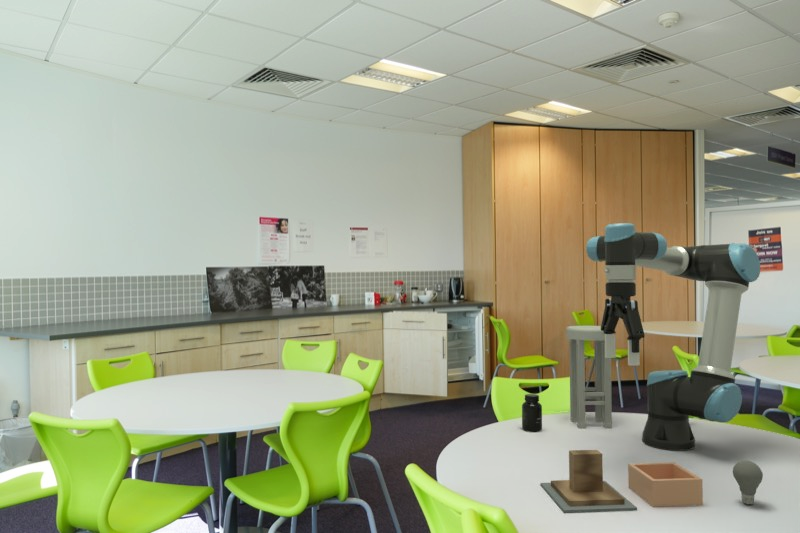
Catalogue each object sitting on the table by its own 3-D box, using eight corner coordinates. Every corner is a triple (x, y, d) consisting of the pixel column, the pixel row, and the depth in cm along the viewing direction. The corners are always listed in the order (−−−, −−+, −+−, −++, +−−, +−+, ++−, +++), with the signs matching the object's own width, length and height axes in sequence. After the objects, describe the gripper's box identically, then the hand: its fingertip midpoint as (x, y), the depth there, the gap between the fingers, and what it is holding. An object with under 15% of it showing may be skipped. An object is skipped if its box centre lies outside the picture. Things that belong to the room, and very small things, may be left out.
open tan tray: (674, 486, 143) (673, 462, 143) (702, 505, 131) (702, 479, 131) (628, 487, 142) (628, 463, 142) (652, 507, 130) (652, 480, 130)
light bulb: (727, 499, 134) (726, 457, 134) (751, 498, 135) (750, 456, 135) (744, 509, 128) (744, 465, 128) (769, 508, 129) (768, 464, 129)
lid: (600, 483, 143) (600, 443, 143) (624, 504, 130) (623, 460, 130) (550, 485, 142) (550, 444, 142) (569, 506, 129) (569, 461, 129)
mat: (605, 483, 145) (605, 480, 145) (637, 510, 128) (637, 507, 128) (540, 485, 144) (540, 482, 144) (564, 512, 127) (564, 510, 127)
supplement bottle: (542, 432, 192) (542, 397, 192) (522, 431, 194) (521, 396, 194) (541, 427, 199) (541, 393, 199) (521, 426, 200) (521, 392, 201)
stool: (563, 418, 211) (562, 325, 211) (605, 418, 210) (603, 325, 211) (574, 430, 195) (573, 329, 196) (619, 430, 195) (618, 329, 195)
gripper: (588, 281, 162) (589, 355, 162) (628, 282, 137) (630, 369, 137) (613, 281, 163) (614, 354, 162) (658, 281, 138) (659, 368, 137)
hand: (621, 361), depth 150 cm, fingers open, 13 cm apart
